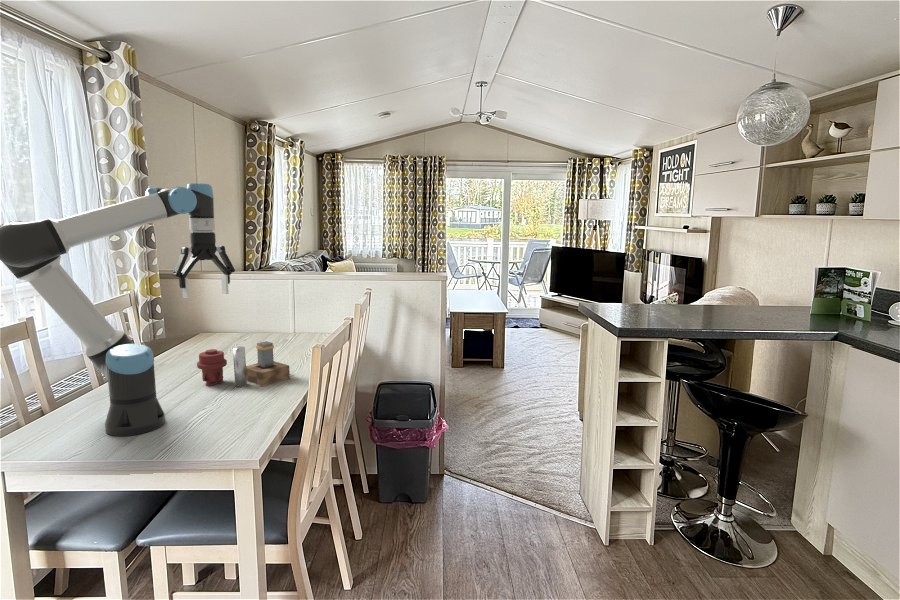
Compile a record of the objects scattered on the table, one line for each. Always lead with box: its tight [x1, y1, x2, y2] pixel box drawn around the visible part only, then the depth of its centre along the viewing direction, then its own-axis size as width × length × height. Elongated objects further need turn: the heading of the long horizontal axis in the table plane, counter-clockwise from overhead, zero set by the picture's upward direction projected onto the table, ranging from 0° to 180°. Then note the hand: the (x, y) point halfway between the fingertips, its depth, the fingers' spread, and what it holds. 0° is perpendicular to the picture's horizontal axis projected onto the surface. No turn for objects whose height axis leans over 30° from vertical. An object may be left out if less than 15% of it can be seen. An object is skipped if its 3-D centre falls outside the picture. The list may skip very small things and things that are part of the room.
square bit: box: [255, 341, 275, 369], centre depth 200 cm, size 4×4×14 cm
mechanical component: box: [196, 348, 228, 386], centre depth 195 cm, size 12×10×10 cm
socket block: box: [246, 360, 291, 387], centre depth 201 cm, size 12×12×5 cm
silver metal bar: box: [232, 345, 248, 388], centre depth 193 cm, size 4×4×14 cm
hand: (206, 295), depth 177 cm, fingers open, 13 cm apart
